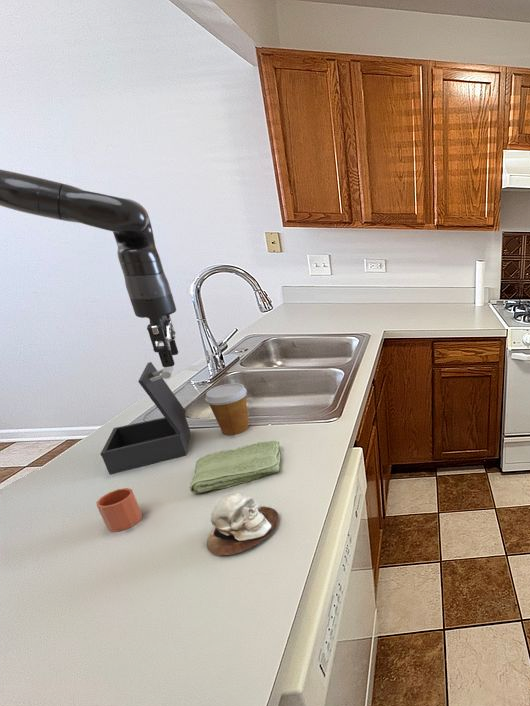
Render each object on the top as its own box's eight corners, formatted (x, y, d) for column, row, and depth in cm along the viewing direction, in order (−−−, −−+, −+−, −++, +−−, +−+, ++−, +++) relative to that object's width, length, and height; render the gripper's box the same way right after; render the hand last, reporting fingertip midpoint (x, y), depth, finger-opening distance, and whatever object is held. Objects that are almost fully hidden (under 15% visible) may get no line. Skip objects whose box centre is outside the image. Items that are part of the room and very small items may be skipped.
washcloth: (282, 474, 91) (280, 462, 90) (190, 499, 83) (186, 486, 82) (280, 445, 102) (277, 434, 100) (198, 465, 94) (194, 453, 93)
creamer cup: (101, 534, 74) (89, 509, 72) (117, 515, 79) (106, 490, 77) (134, 528, 76) (123, 504, 73) (147, 509, 80) (137, 486, 78)
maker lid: (137, 381, 88) (163, 372, 90) (147, 363, 98) (170, 354, 100) (177, 434, 95) (200, 424, 97) (182, 412, 105) (202, 403, 107)
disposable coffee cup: (229, 420, 113) (219, 382, 109) (262, 420, 113) (253, 382, 109) (207, 438, 105) (194, 398, 100) (242, 439, 104) (231, 398, 100)
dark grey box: (109, 474, 91) (100, 453, 89) (121, 447, 101) (113, 427, 99) (186, 455, 98) (179, 435, 95) (190, 431, 108) (184, 413, 106)
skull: (296, 508, 79) (260, 502, 70) (271, 564, 75) (230, 565, 66) (250, 493, 83) (211, 484, 74) (224, 545, 79) (179, 543, 70)
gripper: (135, 289, 93) (156, 354, 99) (122, 302, 82) (146, 373, 88) (174, 286, 96) (192, 349, 102) (167, 298, 85) (187, 367, 91)
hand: (171, 360), depth 95 cm, fingers open, 8 cm apart
